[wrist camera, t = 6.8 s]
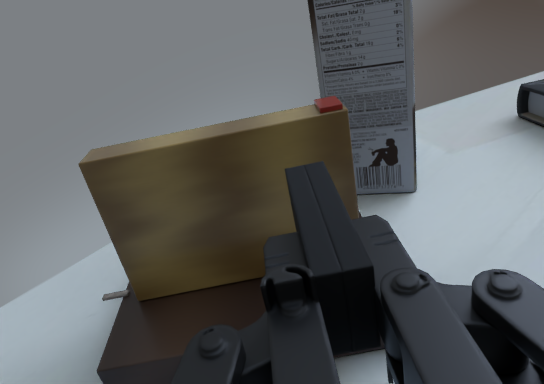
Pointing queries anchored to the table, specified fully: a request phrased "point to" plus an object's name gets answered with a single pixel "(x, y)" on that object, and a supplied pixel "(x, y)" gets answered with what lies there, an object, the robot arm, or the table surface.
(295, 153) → the tan flat piece
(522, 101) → the book
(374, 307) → the robot arm
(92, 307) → the table surface
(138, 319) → the lock plate
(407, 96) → the coffee box
